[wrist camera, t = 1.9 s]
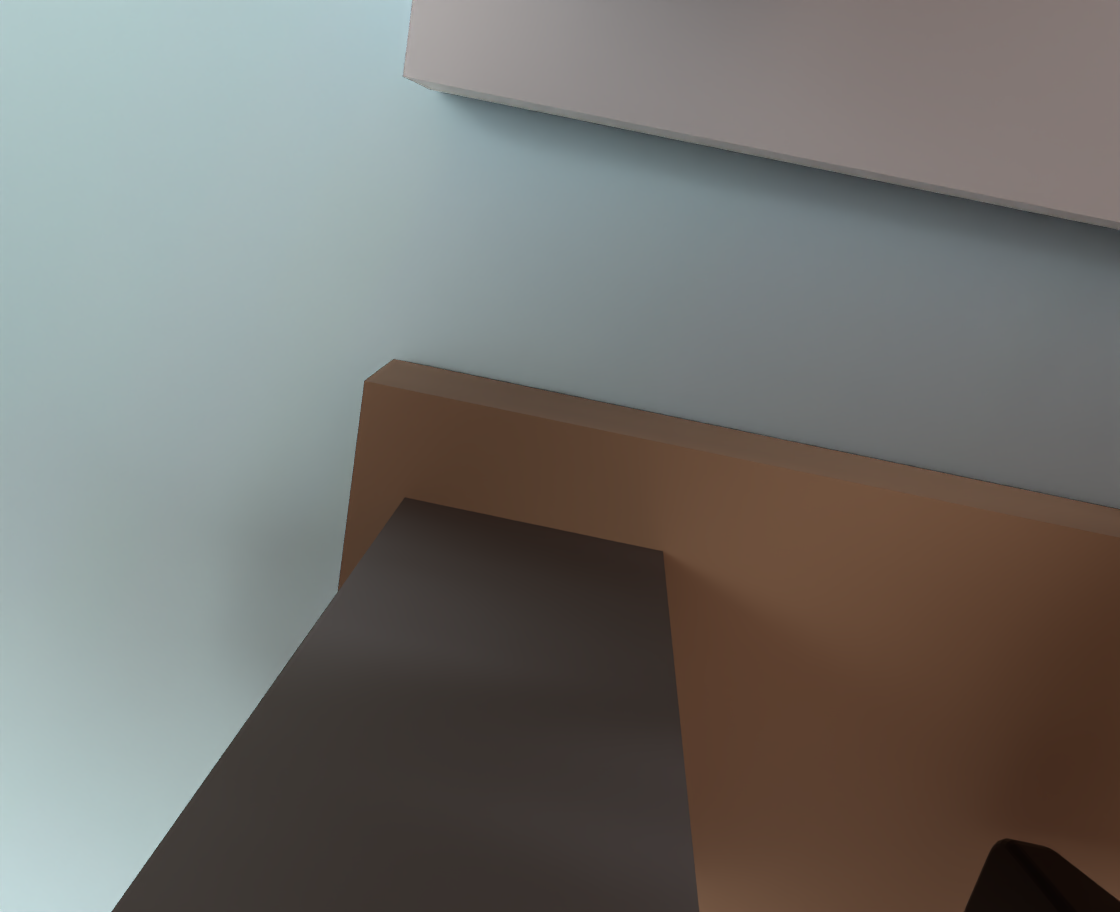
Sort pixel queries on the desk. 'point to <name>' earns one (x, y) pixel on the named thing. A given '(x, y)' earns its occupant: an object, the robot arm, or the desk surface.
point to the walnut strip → (820, 637)
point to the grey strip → (818, 84)
